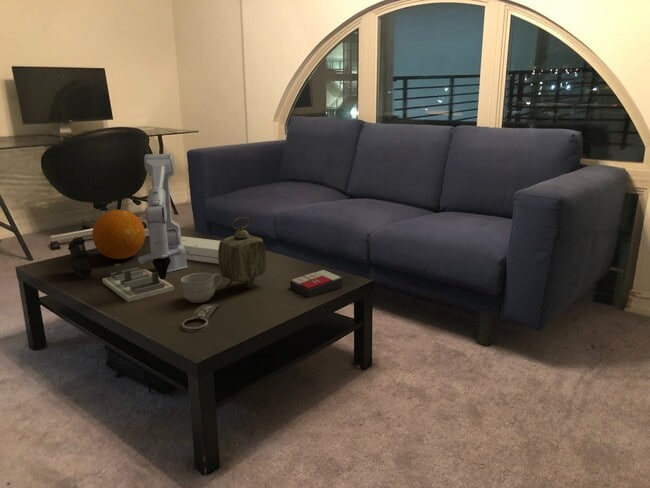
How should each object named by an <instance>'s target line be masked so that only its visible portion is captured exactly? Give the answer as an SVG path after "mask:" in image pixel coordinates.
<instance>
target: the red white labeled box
mask: <svg viewBox="0 0 650 488" xmlns="http://www.w3.org/2000/svg"><path fill="white" fill-rule="evenodd" d="M343 282H344V279H343V277H341V276H339V275H337V274H334V273H332V272H329V271H327V270H325V269H322V270H319V271H316V272H310V273H308V274H304V275H303V276H302V275H301V276H299V277H295V278H292V279H291V281H289V286H290V287H289V288H290V289H291V290H292V291H295V292H297V293H299V294H301V295H302V296H305V297H307V298H311V296H312V297H315V296H319V295H322V294H324V293H327V292H330V291H332V290H333V291H334V290H338V289H341V288H343V287H344V283H343ZM321 293H322V294H321Z"/></svg>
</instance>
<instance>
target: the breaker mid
mask: <svg viewBox="0 0 650 488" xmlns="http://www.w3.org/2000/svg"><path fill="white" fill-rule="evenodd" d="M124 270H125V271H124V275H125V282H128V281H132V280H131V272H130V270H127V269H124Z"/></svg>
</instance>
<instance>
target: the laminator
mask: <svg viewBox="0 0 650 488" xmlns="http://www.w3.org/2000/svg"><path fill="white" fill-rule="evenodd" d="M220 241H221V240H217V239H216V240H215V239H208V238H199V237H193V236H192V237H191V236H182V235H181V244H182V245H183V246H184V248H185V251H186V260H190V261H196V262H197V261H198V262H201V263H202V262H203V263H204V262H205V263H210V264H218V265H219V261H218V249H219V244H220Z"/></svg>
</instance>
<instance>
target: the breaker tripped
mask: <svg viewBox="0 0 650 488" xmlns="http://www.w3.org/2000/svg"><path fill="white" fill-rule="evenodd" d="M151 273H152V282H153V283H152V285H154V284H158V283H159V278H158V277H159V275H158V272H157V271H155V272H151Z"/></svg>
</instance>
